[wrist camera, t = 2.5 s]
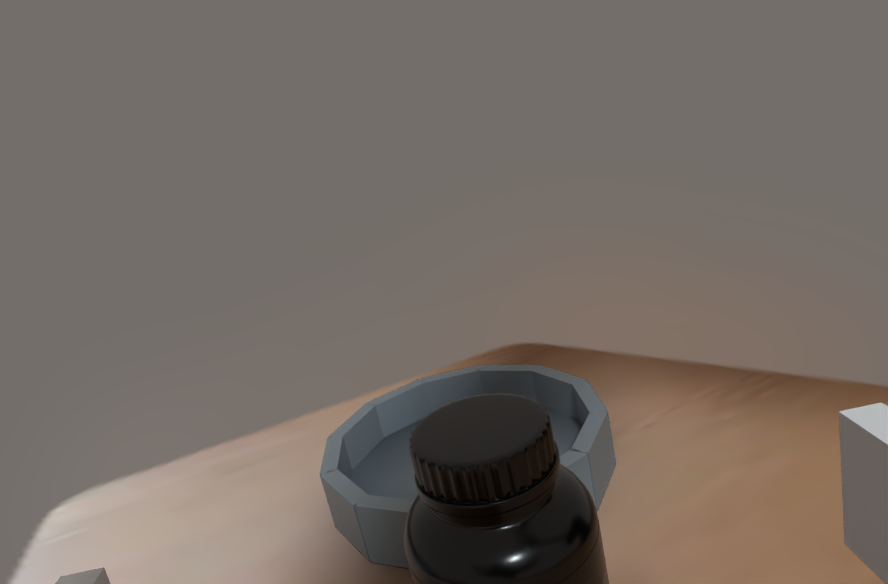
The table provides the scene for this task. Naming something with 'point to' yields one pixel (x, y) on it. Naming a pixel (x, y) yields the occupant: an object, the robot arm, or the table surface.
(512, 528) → the supplement bottle
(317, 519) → the table surface
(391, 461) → the bowl
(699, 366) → the table surface
